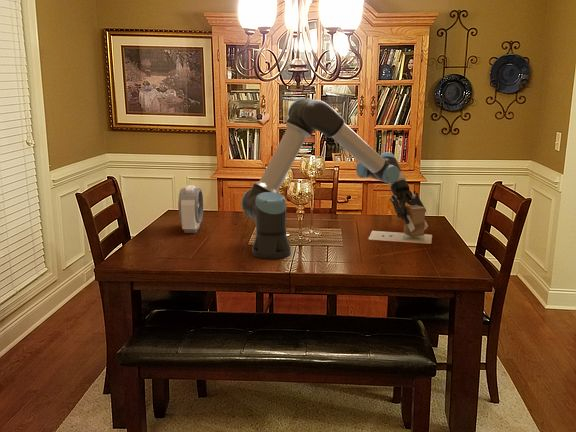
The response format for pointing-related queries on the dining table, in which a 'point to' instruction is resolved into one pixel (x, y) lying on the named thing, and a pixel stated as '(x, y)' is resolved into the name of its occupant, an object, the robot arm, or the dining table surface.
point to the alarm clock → (190, 208)
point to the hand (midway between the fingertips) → (419, 229)
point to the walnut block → (415, 220)
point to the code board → (399, 237)
